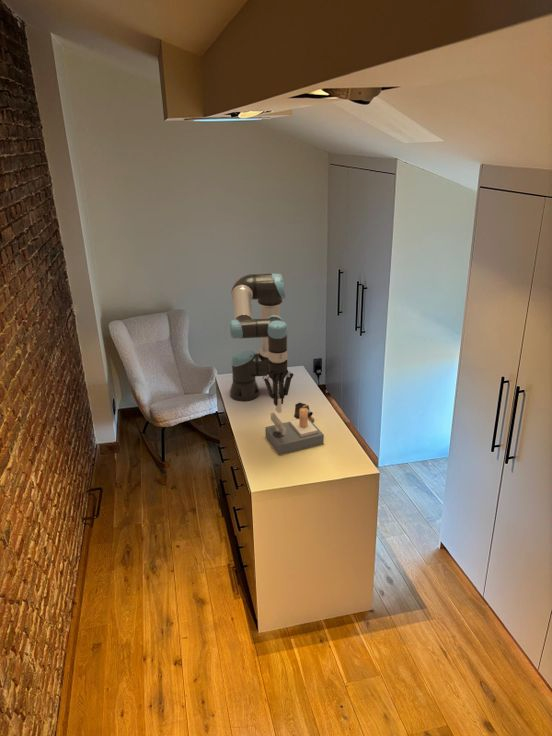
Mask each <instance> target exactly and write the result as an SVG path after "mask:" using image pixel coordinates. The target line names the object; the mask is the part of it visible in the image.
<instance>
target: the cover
mask: <svg viewBox="0 0 552 736" xmlns="http://www.w3.org/2000/svg"><path fill="white" fill-rule="evenodd" d="M289 422H290V425H291V426H292V427H293V428H294V430H295V431H296V432H297V433H298V434H299V435H300V437H304V436H308V435H312V434H316V433H318V430H317V429H316V428H315V427H314V426H313V425H312V423H311V422H310V421H309V420H308V409H307V408H300V410H299V419H298V418H296V419H293V420H289Z"/></svg>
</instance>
